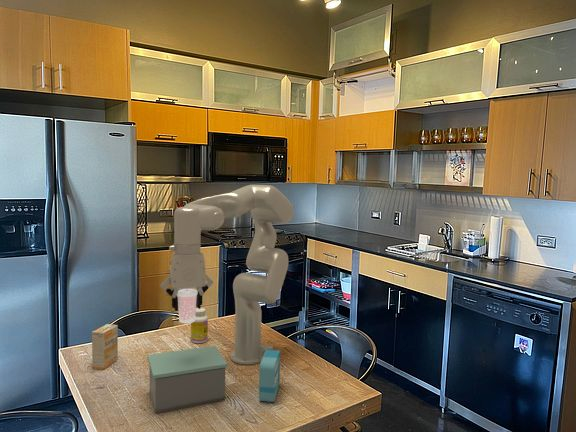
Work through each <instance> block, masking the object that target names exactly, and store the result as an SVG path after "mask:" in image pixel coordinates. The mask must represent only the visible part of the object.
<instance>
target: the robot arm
mask: <svg viewBox="0 0 576 432" xmlns="http://www.w3.org/2000/svg"><path fill="white" fill-rule="evenodd" d="M294 211H295V210H294V207H293V204H292V203H291V201H290V200H289V199H288V198H287V197H286V196H285V195H284V194H283V193H282V192H281V190H279V189H278V188H276V186H273V185H268V184H248V185H245V186H242V187H240V188H238V189H235V190H233V191H231V192H227V193H220V194H217V195H212V196H208V197H203V198H199V199H197V200H194V201H190V202H188V203H186V204H185V205H184V206H181V207H177V208H176V209H175V211H174V215H173V216H174V223H173V224H174V232H173V233H174V235H173V236H174V237H173V239H174V240H173V241H174V242H173V244H172V245H169V247H168V250H169V251H170V252H171V251H172V252H173V253H172V254H171V258H170V263H169V264H170V265H169V267H170V268H169V275H168V276H167V277H166V278H165V279H164V280H163V281H162V282H161V284H160V288H161V289H162V290H164V291H165V292H166V293H167V294H168V295H169V296H170V297H171V308H172V309H174V312H179V308H178V296H177V293H178V291H179V290H182V289H195V290H197V291H198V294H197V299H196V308H198V309H201V308H202V305H203V296H204V295H205V292H206V291H208V289H209V288H210V287H211V286H212V285H213V284H214V281H213V280H212V278H210V276H208V275H207V274H206V262H205V255H204V253H203V252H202V251H201V244H202V243H201V241H202V239H201V232H202V231H215V230H218V229H220V228H221V227H222V225H224V223H225V219H232V218H237V217H240V216H241V215H244V214H246V213H248V212H250V215H251V218H252V222H253V225H254V235H253V239H252V242H251V244H250V247H249V250H248V253H247V256H246V261H245V266H246V267H247V268H248V269H249V270H251V271H253V272H257V273H253V272H252V273H251V272H242V273H239V274H238V275H236V276H235V278H234V279H233V283H232V290H233V291H232V292H233V297H234V306H235V307H234V309H235V315H234V316H235V318H234V322H235V324H234V350H233V351H232V352H231V353H230V356H229V357H230V360H231V361H232V362H234V363H235V364H239V365H255V364H258V363H259V364H260V363H261V360H262V358H263V356H264V354H265V351H266V350H274V346H273V345H271V344H270V345H268V344H267V343H265V344H262V343H261V341H262V339H261V338H262V308H261V305H260V304H261V303H263V304H267V305H268V304H269V305H270V304H271V305H272V304H274V303H276V301H277V300H278V298H279V297H280V293H281V290H282V287H283V285H284V280H285V279H286V275H287V271H288V269H289V255H288V253H287V252H286V251H285V250H284V249H281V248H278V247H277V248H275V247H276V246H275V245H276V243H277V242H276V241H277V232H276V229H275V228H274V226H273V224H272V223H275V224H287V223H290V222H291V221H292V219H293V217H294ZM258 273H262V274H263V273H264V274H267V275H264V274H263V275H262V274H258ZM168 285H169V286H170V287H171V288H172V289H171V288H170V287H168Z"/></svg>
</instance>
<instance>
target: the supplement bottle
mask: <svg viewBox="0 0 576 432" xmlns="http://www.w3.org/2000/svg"><path fill="white" fill-rule="evenodd" d="M208 321H209V318H208V316H207V315H206V308H204V307H201V309H198V308H197V307H196V314H195V321H194V322H193V323H190V341H191V342H192V343H193V344H204V343H206V342H207V341H208V337H209V336H208V335H209V334H208V329H209V328H208V325H209V324H208Z"/></svg>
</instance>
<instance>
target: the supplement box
mask: <svg viewBox="0 0 576 432" xmlns="http://www.w3.org/2000/svg"><path fill="white" fill-rule="evenodd" d="M118 328H119V326H118V324H110V323H107V324H104V325H103V326H101V327H99V328H96V329H95V330H93V331H91V355H92V356H91V363H92V365H91V367H92V369H94V370H95V369H96V370H101V371H104V370H105V369H107V368H108V367H109V366H111V365H112V364H114V363H115V362H117V361H118V359H119V358H118V357H119V355H118V353H119V352H118V349H119V348H118V346H119V344H118V343H119V340H118V339H119V338H118V337H119V334H118V333H119V332H118V331H119V329H118Z"/></svg>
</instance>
